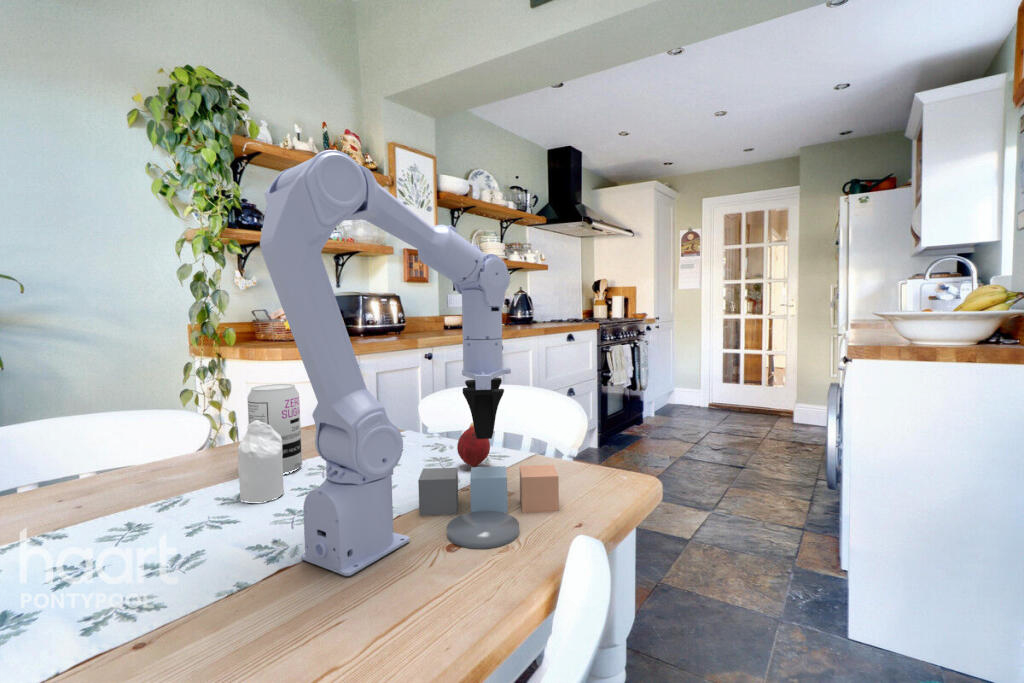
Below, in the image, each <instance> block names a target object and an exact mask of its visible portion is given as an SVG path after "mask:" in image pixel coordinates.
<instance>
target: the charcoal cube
mask: <svg viewBox="0 0 1024 683" xmlns="http://www.w3.org/2000/svg"><path fill="white" fill-rule="evenodd" d="M458 470H459V468H458V467H433V468H429V467H427V468H422V470H421V473H420V476H419V478H418V479H417V480H418V481H417V482H418V484H417V485H418V510H419V512H418V513H419V514H418V515H419V517H420V516H421V517H423V516H424V517H425V516H443V515H444V516H447V515H449V516H450V515H457V512H458V506H459V475H458V474H459V471H458Z"/></svg>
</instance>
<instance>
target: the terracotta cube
mask: <svg viewBox="0 0 1024 683" xmlns="http://www.w3.org/2000/svg"><path fill="white" fill-rule="evenodd" d="M559 481H560V480H559V474H558V472H557V469H556V467H555V465H554V464H544V465H542V464H540V465H538V464H537V465H519V499H520V505H521V511H522V513H524V514H525V513H545V512H546V513H548V512H549V513H551V512H559V511H560V505H559V504H560V503H559V502H560V499H559V498H560V496H559V485H560V484H559Z"/></svg>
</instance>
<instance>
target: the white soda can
mask: <svg viewBox="0 0 1024 683" xmlns="http://www.w3.org/2000/svg"><path fill="white" fill-rule="evenodd" d="M246 399H247V412H248V413H247V416H248V418H247V419H248V425H249V424H250V423H252V422H253V421H256V420H258V421H260V422H263V423H266V424H267V425H270V426H271V427H272V428H273V429H274V431H276V432H277V433H278V434H279V435H280V436H281V439H282V453H283V455H282V465H283V473H285V472H289V471H292V470H295V469H297V468H299V469H300V467H301V466H302V465H303V450H302V433H301V431H302V428H301V409H300V408H301V406H300V393H299V391H298V390H297V388H296V386H295V384H292V383H275V384H265V385H263V384H262V385H257V386H253V387H251V389H250V392H249V393H248V396H247V398H246Z"/></svg>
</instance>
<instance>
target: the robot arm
mask: <svg viewBox="0 0 1024 683" xmlns="http://www.w3.org/2000/svg"><path fill="white" fill-rule="evenodd" d="M263 195H264V198H265V202H266V208H265V212H264V218H263V223H262V224H263V225H262V229H261V233H260V239H259V247H260V251H261V252H260V253H261V255H262V258H263V260H264V263H265V266H266V268H267V271H268V273H269V277H270V279H271V281H272V285H273V287H274V290H275V292H276V296H277V298H278V300H279V302H280V305H281V308H282V311H283V314H284V315H285V320H286V321H287V323H288V327H289V328H290V331H291V334H292V337H293V340H294V343H295V346H296V348H297V351H298V352H299V355H300V358H301V361H302V363H303V366H304V370H305V371H306V374H307V377H308V379H309V382H310V384H311V385H310V386H311V387H312V391H313V393H314V396H315V399H316V401H317V404H316V407H315V408H314V410H313V412H312V418H313V421H314V426H315V437H314V438H315V439H314V444H315V450H316V452H317V453H318V455H319V457H320V458H321V459H322V460H324V461H325V465H326V467H325V468H326V471H325V472H326V475H325V476H326V478H325V479H324V481H323V482H322V483H321V484H320V485H319V486H317V487H316V488H314V489H312V490H310V492H308V493H307V495H306V496H305V499H304V502H303V530H304V552H303V553H301V555H300V559H301V560H303V561H305V562H308V563H310V564H313V565H316V566H319V567H322V568H324V569H326V570H329V571H331V572H334V573H336V574H340V575H342V576H344V577H351V576H352V575H354V574H355V573H357V572H359V571H361V570H363V569H365V568H366V567H368V566H369V565H371V564H373V563H375V562H376V561H378V560H379V559H381V558H384V557H385V556H387V555H388V554H390V553H392V552H393V551H396V550H397V549H398V548H400V547H402V546H403V545H405V544H407V543H409V542H410V536H407V535H405V534H401V533H398V532H394V510H393V508H394V507H393V483H392V482H393V480H392V479H393V477H392V476H393V475H394V469H395V468H396V467H397V465H398V464H399V462H400V460H401V457H402V454H403V451H404V450H403V449H404V440H403V436H402V433H401V431H400V429H399V428H398V427H397V426H396V425H395V424H393V423H392V421H391V420H390V419H389V417H388V416H387V412H386V410H385V407H384V406H383V405H382V404H381V403H380V401H379V400H378V399H377V397H375V396H374V395H373V393H371V391H369V390H368V388H367V386H366V382H365V380H364V377H363V374H362V370H361V368H360V364H359V362H358V359H357V357H356V354H355V351H354V350H355V349H354V347H353V345H352V342H351V338H350V336H349V333H348V330H347V327H346V323H345V322H344V319H343V315H342V313H341V310H340V306H339V304H338V301H337V298H336V296H335V292H334V290H333V286H332V284H331V280H330V277H329V275H328V272H327V269H326V266H325V264H324V260H323V257H322V250H324V249H323V248H325V247H326V246H325V245H326V244H327V242H328V241H329V240H330V237H331V236H332V234H333V233H334V231H335V230H336V228H337V226H339V225H341V223H343V222H344V221H360V220H361V221H366V222H368V223H370V224H371V225H373V226H375V227H377V228H379V229H381V230H383V231H384V232H386V233H388V234H390V235H391V236H393V237H394V238H397V239H398V240H401V241H402V242H404V243H406V244H408V245H409V246H411V247H413V248H415V249H417V256H418V258H419V261H420V262H421V263H422V264H424V265H426V267H429V268H430V269H433V271H435V272H437V273H439V274H440V275H442V276H443V277H445V278H447V279H448V280H450V281H451V282H452V285H453V288H454V289H455V291H456V292H457V293H458V294H460V295H461V316H462V317H461V319H462V320H461V321H462V322H461V323H462V369H461V375H462V376H463V377H466V378H469V379H467V380H465V381H464V384H465V385H466V387H463V388H462V395H463V396H464V398H465V401H466V403H467V404H468V407H469V410H470V414H471V417H472V418H471V419H472V423H473V425H474V430H475V434H476V437H477V439H489V440H490V439H492V438H493V435H494V430H495V422H496V417H497V413H498V408H499V404H500V402H501V400H502V397H503V395H504V393H505V389H504V388H500V386H501V384H502V381H503V379H502V376H503V375H509V374H512V369H511V368H510V367H504V365H503V364H504V363H503V359H504V358H503V315H502V314H503V306H504V303H505V302H506V298H505V296H506V292H507V289H508V287H509V285H510V281H511V274H510V273H509V270H508V266H507V264H506V263H505V261H504V260H503V259H502V258H501V257H499V256H498V255H496V254H494V253H489V254H488V253H487V254H485V253H484V252H483V251H482V250H481V247H480V246H478V245H477V244H472V243H471V242H469V241H468V240H467V239H466V238H464V237H462V236H461V235H459V233H457V232H458V229H457V228H456V227H454V226H453V225H451V224H449V225H445V224H437V225H433V226H432V225H430V224H429V223H428V222H427V221H425V220H424V219H423V218H422V217H421V216H419V215H418V214H416V213H415V212H414V211H413V210H411V208H409V207H408V206H407V205H406V204H404V203H403V202H402V201H400V199H398V198H397V197H395V196H394V195H393V194H392V193H391V192H389V191H388V190H387V189H385V188H384V187H383V186H382V185H381V184H379V182H378V181H377V180H376V177H375V176H374V174H373V172H372V170H370V169H369V168H367V167H366V166H363V165H362V164H359V163H358V162H357V161H356V160H354V158H353V157H351V156H350V155H349V154H347V153H346V152H345V153H344V152H342V151H339V150H337V149H327V150H323V151H321V152H318V153H317V154H316V155H315V156H313V157H312V158H310V159H308V160H305V161H303V162H301V163H299V164H297V165H296V166H292V167H289V168H286V169H284V170H282V171H281V172H280V173H278V174H277V176H276V177H275V178H274V179H273V181H272V182H271V183H270V184H269V185H268V187H267V189H266V190H265V191H264V194H263Z"/></svg>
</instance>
